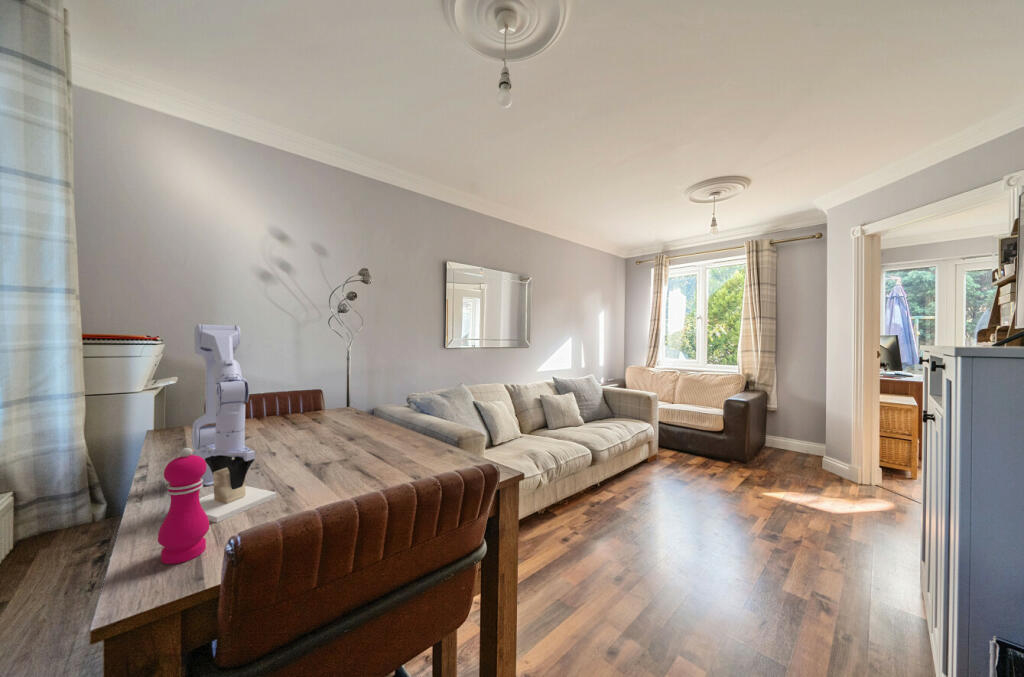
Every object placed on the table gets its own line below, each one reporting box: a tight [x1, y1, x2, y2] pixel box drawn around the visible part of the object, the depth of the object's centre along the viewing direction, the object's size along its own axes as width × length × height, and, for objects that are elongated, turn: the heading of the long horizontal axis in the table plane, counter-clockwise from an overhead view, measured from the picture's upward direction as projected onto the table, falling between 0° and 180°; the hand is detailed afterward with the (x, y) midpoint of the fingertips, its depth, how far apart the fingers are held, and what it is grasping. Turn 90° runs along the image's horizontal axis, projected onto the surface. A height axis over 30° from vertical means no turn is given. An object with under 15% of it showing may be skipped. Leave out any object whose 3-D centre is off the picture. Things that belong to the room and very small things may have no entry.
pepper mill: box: [157, 447, 210, 565], centre depth 69 cm, size 7×7×20 cm
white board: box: [199, 485, 278, 523], centre depth 89 cm, size 14×14×1 cm
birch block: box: [213, 468, 246, 503], centre depth 90 cm, size 4×4×7 cm
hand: (229, 486), depth 89 cm, fingers open, 5 cm apart
